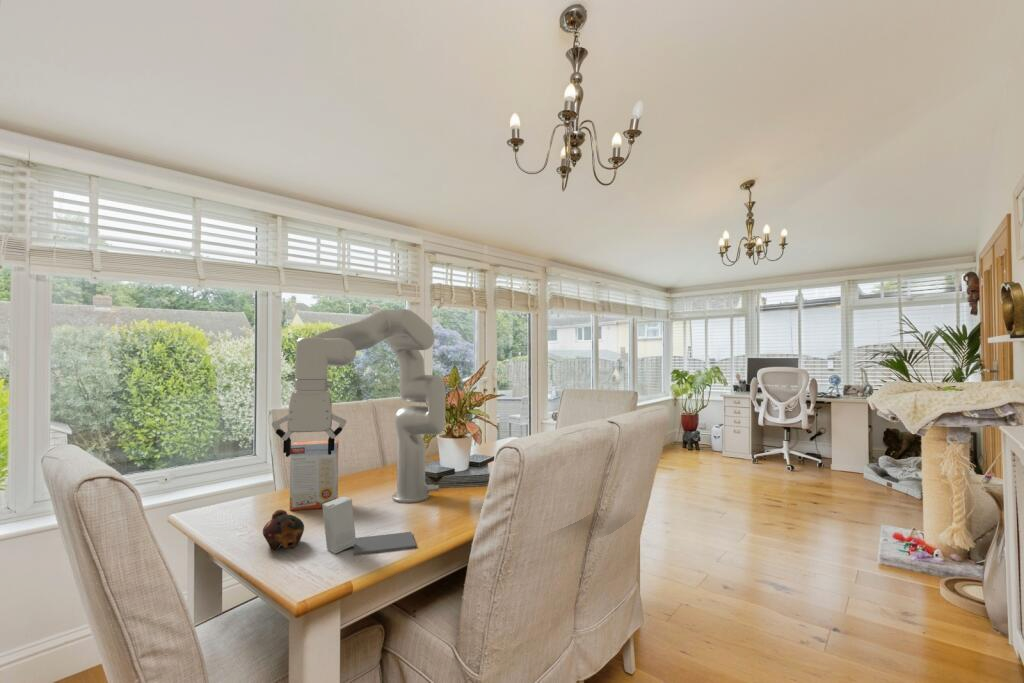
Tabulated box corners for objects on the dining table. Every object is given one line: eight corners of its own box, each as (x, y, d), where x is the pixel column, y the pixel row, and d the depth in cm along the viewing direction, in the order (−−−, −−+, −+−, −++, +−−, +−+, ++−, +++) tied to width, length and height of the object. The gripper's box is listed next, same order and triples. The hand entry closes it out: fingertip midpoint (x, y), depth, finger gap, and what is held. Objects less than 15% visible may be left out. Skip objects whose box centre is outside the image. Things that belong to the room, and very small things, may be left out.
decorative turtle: (292, 533, 130) (295, 504, 131) (312, 553, 119) (315, 521, 119) (253, 540, 124) (256, 509, 124) (270, 563, 113) (274, 529, 113)
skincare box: (347, 540, 124) (343, 495, 123) (357, 544, 121) (353, 498, 120) (325, 550, 119) (321, 503, 118) (335, 555, 116) (330, 507, 115)
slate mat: (411, 533, 130) (411, 531, 130) (415, 547, 121) (415, 545, 121) (353, 540, 125) (353, 538, 125) (353, 555, 116) (353, 552, 116)
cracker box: (338, 502, 158) (339, 439, 159) (335, 507, 152) (337, 442, 153) (292, 505, 155) (294, 440, 156) (288, 511, 149) (290, 444, 150)
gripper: (347, 385, 126) (346, 450, 125) (275, 385, 120) (273, 453, 120) (347, 386, 119) (345, 455, 118) (270, 387, 113) (268, 459, 112)
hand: (309, 454), depth 119 cm, fingers open, 9 cm apart
